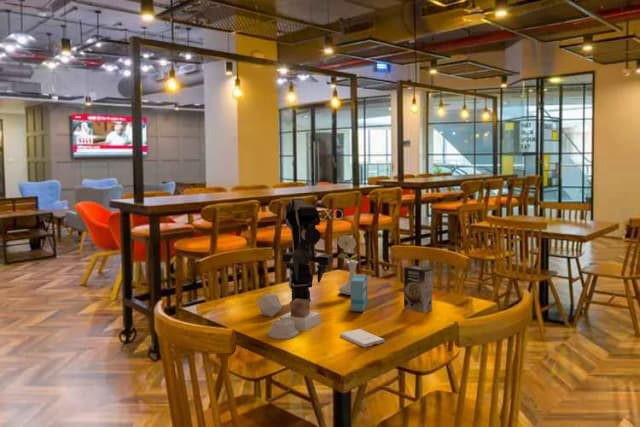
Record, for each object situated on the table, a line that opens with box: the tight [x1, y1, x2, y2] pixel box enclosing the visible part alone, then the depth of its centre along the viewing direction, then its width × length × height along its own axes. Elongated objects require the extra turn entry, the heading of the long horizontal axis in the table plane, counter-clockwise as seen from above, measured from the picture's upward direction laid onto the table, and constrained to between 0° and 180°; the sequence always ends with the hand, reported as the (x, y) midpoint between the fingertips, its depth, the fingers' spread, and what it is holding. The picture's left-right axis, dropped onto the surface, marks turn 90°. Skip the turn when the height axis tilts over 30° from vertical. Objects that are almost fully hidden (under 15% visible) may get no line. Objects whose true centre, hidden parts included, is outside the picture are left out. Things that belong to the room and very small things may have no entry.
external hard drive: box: [339, 328, 386, 348], centre depth 175 cm, size 2×8×12 cm
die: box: [256, 292, 283, 318], centre depth 202 cm, size 8×9×10 cm
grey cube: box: [290, 299, 311, 318], centre depth 189 cm, size 5×5×5 cm
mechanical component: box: [267, 319, 300, 340], centre depth 180 cm, size 10×4×10 cm
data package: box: [350, 274, 369, 313], centre depth 209 cm, size 12×4×12 cm, turn 166°
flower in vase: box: [336, 234, 359, 296], centre depth 231 cm, size 13×11×25 cm
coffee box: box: [403, 264, 434, 314], centre depth 207 cm, size 9×6×16 cm
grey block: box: [279, 311, 321, 332], centre depth 190 cm, size 10×10×4 cm
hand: (307, 281), depth 204 cm, fingers open, 9 cm apart
